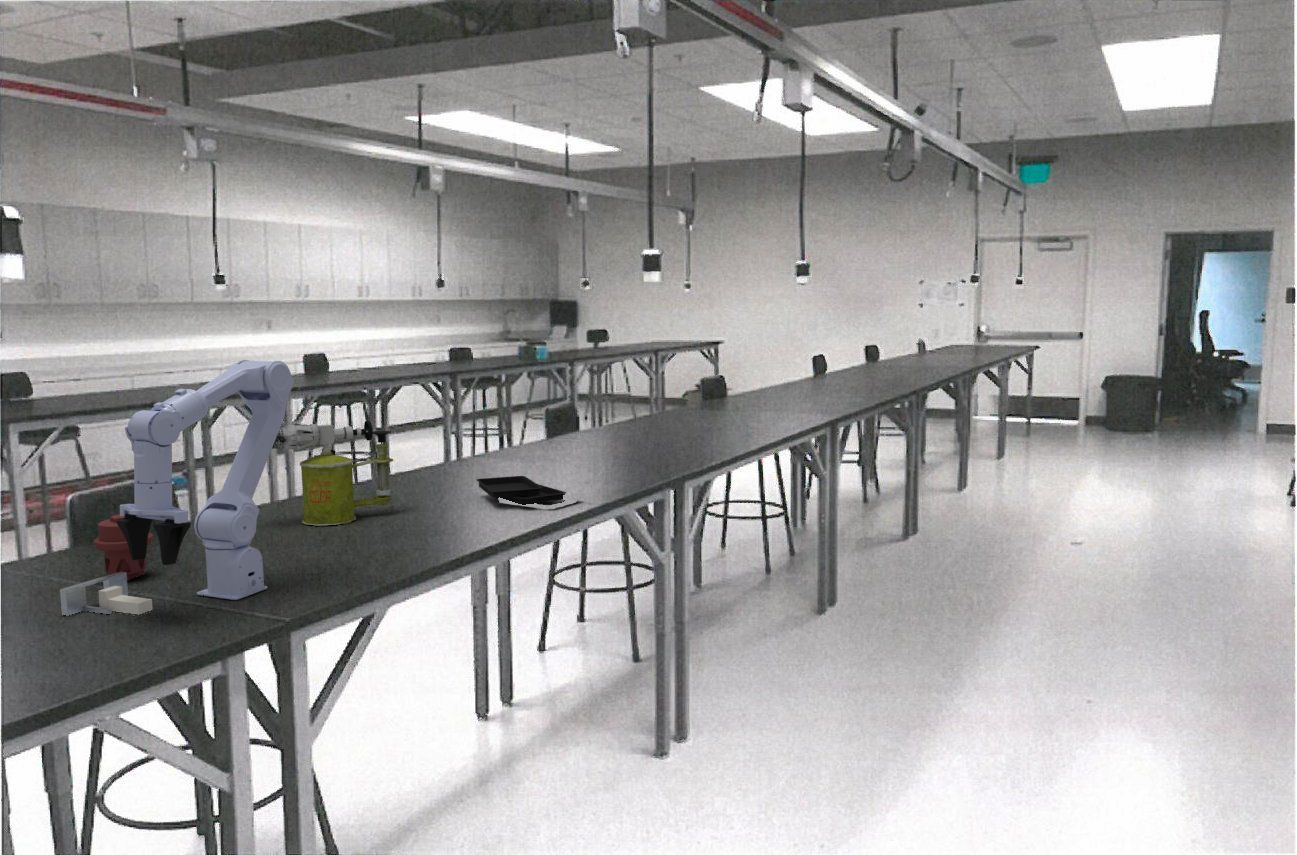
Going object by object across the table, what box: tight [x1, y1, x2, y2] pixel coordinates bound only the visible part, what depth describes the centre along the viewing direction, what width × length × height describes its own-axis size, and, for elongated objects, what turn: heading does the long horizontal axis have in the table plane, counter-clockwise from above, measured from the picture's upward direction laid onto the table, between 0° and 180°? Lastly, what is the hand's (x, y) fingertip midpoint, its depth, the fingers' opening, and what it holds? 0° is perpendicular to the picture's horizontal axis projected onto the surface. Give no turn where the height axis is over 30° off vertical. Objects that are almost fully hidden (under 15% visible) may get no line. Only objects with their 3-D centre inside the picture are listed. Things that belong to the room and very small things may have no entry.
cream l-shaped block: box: [97, 586, 153, 615], centre depth 171 cm, size 10×3×4 cm, turn 68°
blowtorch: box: [271, 420, 394, 526], centre depth 239 cm, size 13×33×25 cm, turn 122°
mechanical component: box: [93, 514, 154, 582], centre depth 190 cm, size 12×10×10 cm
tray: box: [476, 475, 567, 505], centre depth 261 cm, size 30×23×5 cm
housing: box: [59, 572, 129, 617], centre depth 172 cm, size 7×12×5 cm, turn 158°
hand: (153, 561), depth 166 cm, fingers open, 7 cm apart
